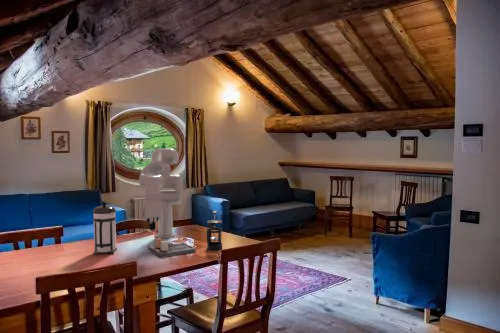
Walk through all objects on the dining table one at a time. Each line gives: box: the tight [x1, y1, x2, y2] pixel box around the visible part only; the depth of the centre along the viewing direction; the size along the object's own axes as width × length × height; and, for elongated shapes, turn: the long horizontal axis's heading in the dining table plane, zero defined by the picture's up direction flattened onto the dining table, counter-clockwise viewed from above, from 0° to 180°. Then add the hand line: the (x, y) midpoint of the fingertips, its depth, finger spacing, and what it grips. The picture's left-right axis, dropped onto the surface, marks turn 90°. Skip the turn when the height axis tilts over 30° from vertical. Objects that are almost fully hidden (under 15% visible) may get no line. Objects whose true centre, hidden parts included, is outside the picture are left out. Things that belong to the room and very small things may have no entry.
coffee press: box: [92, 201, 118, 256], centre depth 249 cm, size 17×16×30 cm
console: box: [147, 241, 197, 259], centre depth 254 cm, size 20×22×3 cm
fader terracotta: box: [155, 237, 164, 248], centre depth 254 cm, size 4×3×5 cm
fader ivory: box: [161, 239, 169, 251], centre depth 247 cm, size 4×3×5 cm
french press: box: [206, 210, 223, 252], centre depth 259 cm, size 12×9×23 cm
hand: (152, 229), depth 243 cm, fingers closed
